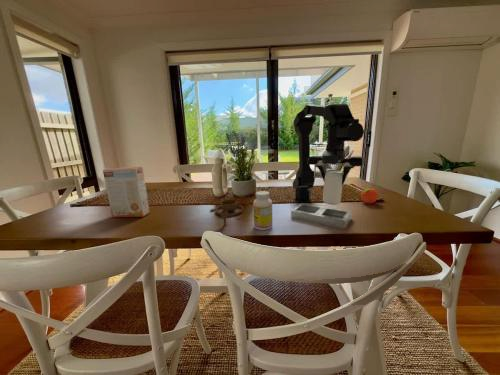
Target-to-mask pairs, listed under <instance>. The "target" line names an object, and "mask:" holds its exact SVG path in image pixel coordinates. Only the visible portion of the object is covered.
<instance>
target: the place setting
mask: <svg viewBox="0 0 500 375" xmlns="http://www.w3.org/2000/svg"><path fill="white" fill-rule="evenodd" d="M209 211H210V212H214V211H215V212H216V214H217V215H218V216H221V219H223V225H222V226H223V227H228V224H227V219H228V217H234V216H237V215H240V214H241V213H243V211H244V207H243V206H242V205H240V204H238V201H237V200H235V199H225V200H222V201H221V202H220V206H218V207H216V208H212V209H210V210H209ZM242 217H244V215H243V216H242ZM237 220H240V217H237Z"/></svg>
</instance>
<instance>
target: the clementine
mask: <svg viewBox="0 0 500 375" xmlns="http://www.w3.org/2000/svg"><path fill="white" fill-rule="evenodd" d="M360 199H361V200H362V202H363V203H365V204H368V205H369V204H374V203H375V202H376V201H378V199H379V193H378V192H377V190H375V189H374V188H371V187H370V188H365V189H363V190H362V191H361V193H360Z"/></svg>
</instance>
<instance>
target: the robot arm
mask: <svg viewBox="0 0 500 375" xmlns="http://www.w3.org/2000/svg"><path fill="white" fill-rule="evenodd" d="M310 115H311V116H310ZM317 116H318V117H322V118H323V119H324V120H325V121H327V124H325V126H324V129H327V142H326V147H325V150H324V151H323V153H322V154H321V155H311V153H310V135H311V133H312V131H313V130H314V129H313V128H314V124H315V123H316V121H317ZM293 128H294V132H295V134H296V135H297V137H298V162H299V163H298V170H296V173H295V178H294V180H293V182H292V188H294V189H295V198H294V199H293V200H294V201H296V202H297V201H298V202H301V203H307V202H309V201H310V200H311V199H312V191H311V189H313V188H314V184H315V180H316V177H315V170H313V169H312V168H311V165H314V168H317V169H318V170H319V173H320V175H321V177H322V178H321V179H322V180H323V182H324V180H325V174H326V173H327V170H328V169H327V166H328V164H330V165H336V164H337V165H338V164H344V165H343V171H342V172H343V177H342V185H343V186H344V184H345V182H346V180H347V177H348V175H349V173H350V172H351V170H352V169H355V167H363V166H364V165H365V157H364V156H356V155H355V156H353V155H352V156H351V157H349V158H346V151H345V142H358V141H360V140H361V139H362V138H363V137H364V133H365V129H364V126H363V125H362V124H361V123H360V119H359V118H354V116H353V113H352V111H351V109H350V107H349V104H347V103H329V104H325V105H320V104H319V105H318V104H306V105H304V107H303V109H302V110H300V111H299V112H297V114H296V115H295V117H294V119H293Z"/></svg>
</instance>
